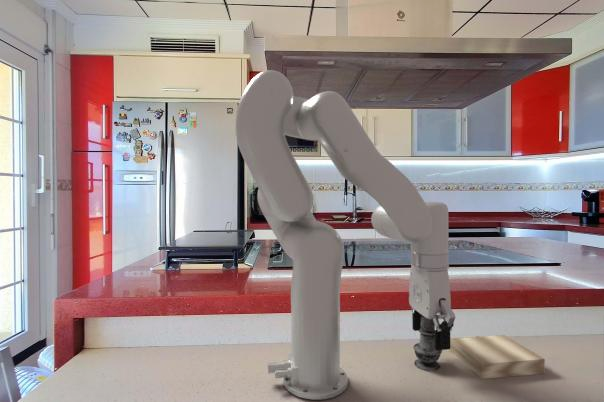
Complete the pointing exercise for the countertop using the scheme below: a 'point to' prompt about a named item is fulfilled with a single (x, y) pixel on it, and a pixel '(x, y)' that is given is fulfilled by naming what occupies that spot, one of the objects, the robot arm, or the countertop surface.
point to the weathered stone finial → (427, 347)
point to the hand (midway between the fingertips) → (430, 339)
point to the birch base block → (496, 356)
